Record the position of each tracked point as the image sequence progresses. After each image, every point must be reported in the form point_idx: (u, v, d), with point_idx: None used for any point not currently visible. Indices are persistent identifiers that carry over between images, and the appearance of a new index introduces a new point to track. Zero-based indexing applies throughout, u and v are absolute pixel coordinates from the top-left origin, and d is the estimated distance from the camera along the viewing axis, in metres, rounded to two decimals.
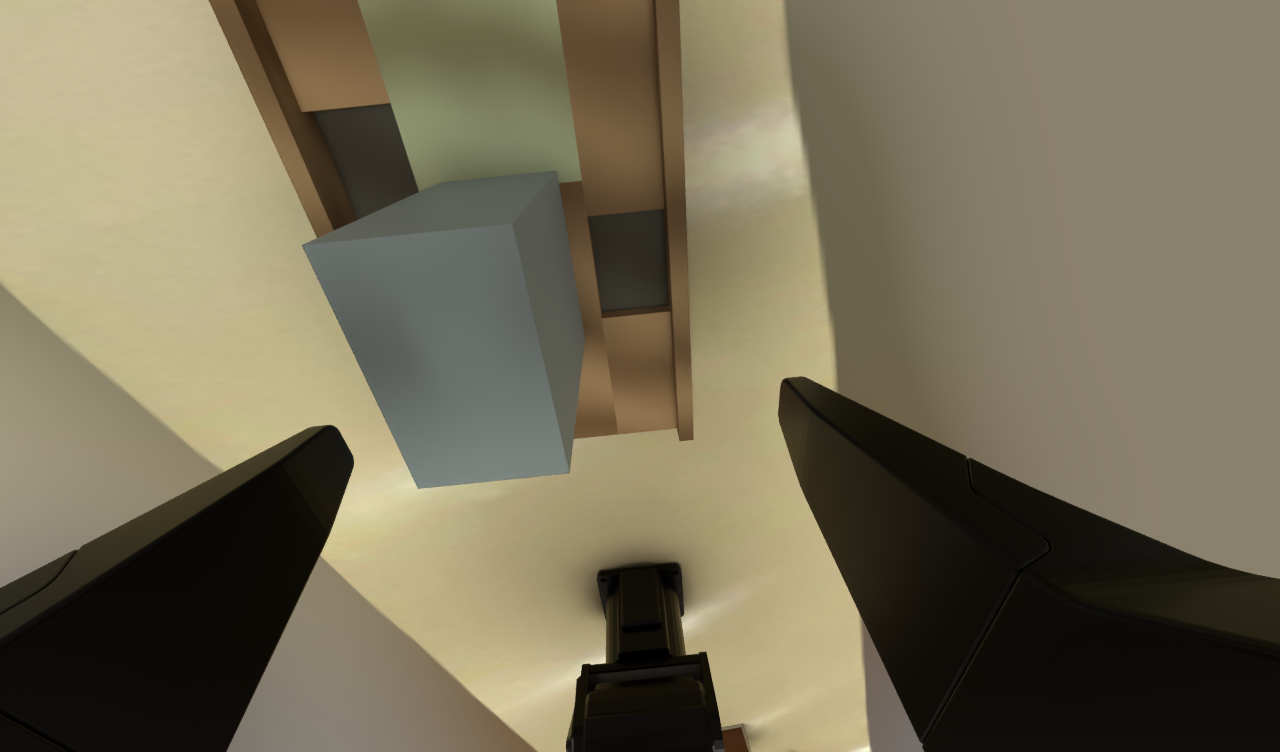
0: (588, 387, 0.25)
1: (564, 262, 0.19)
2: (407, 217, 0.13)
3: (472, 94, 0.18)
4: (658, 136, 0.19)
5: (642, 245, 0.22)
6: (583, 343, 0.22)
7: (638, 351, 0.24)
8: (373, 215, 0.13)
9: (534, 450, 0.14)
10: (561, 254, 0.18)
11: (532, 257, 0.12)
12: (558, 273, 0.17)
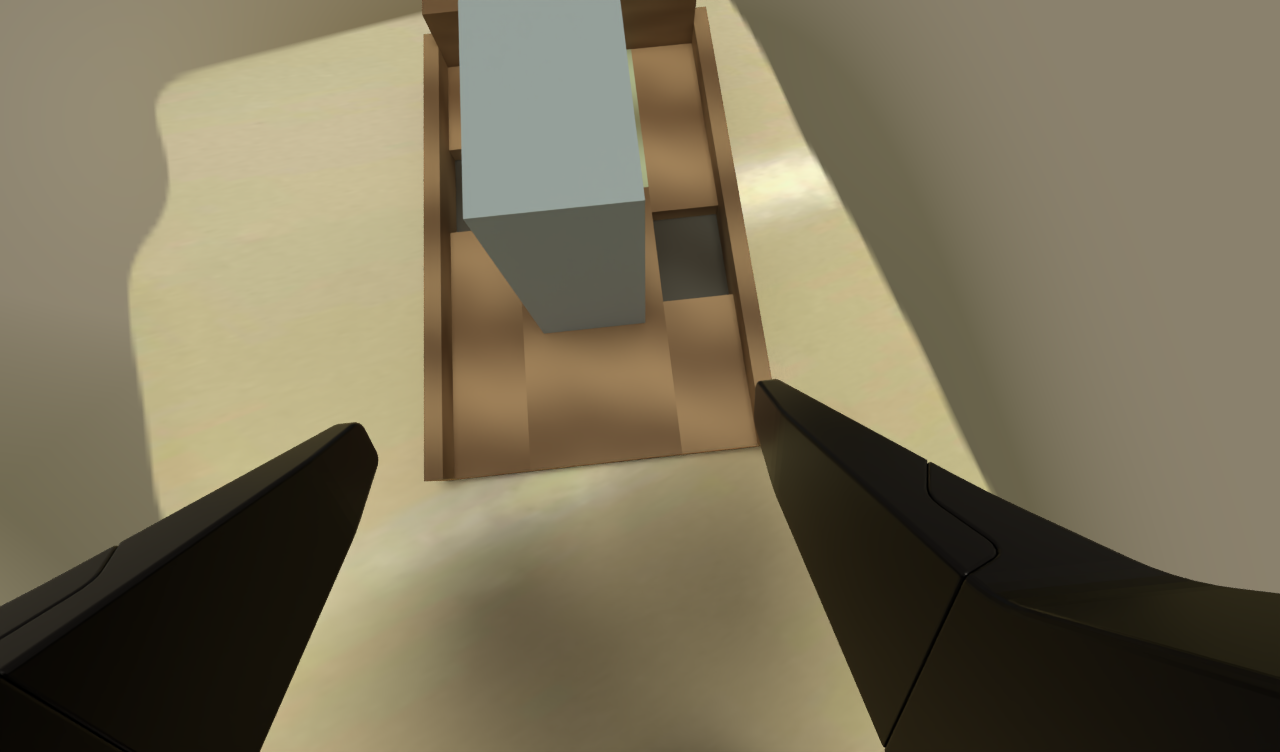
0: (646, 382, 0.21)
1: None
2: None
3: None
4: (709, 157, 0.24)
5: (700, 245, 0.24)
6: None
7: (702, 338, 0.22)
8: None
9: (607, 168, 0.13)
10: None
11: None
12: None
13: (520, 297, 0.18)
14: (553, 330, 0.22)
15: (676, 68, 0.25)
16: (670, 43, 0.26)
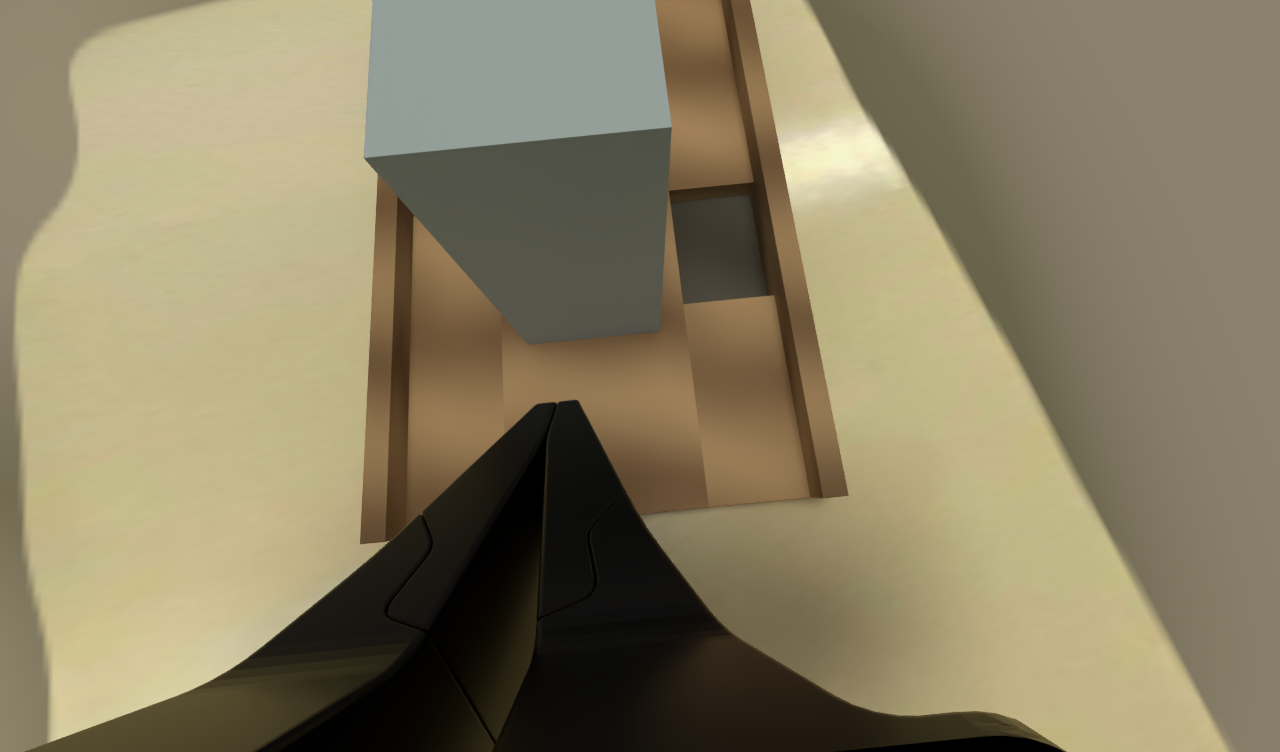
0: (662, 410, 0.16)
1: None
2: None
3: None
4: (741, 123, 0.19)
5: (730, 234, 0.19)
6: None
7: (734, 352, 0.17)
8: None
9: (609, 76, 0.08)
10: None
11: None
12: None
13: (488, 295, 0.13)
14: (540, 340, 0.17)
15: (699, 16, 0.20)
16: None
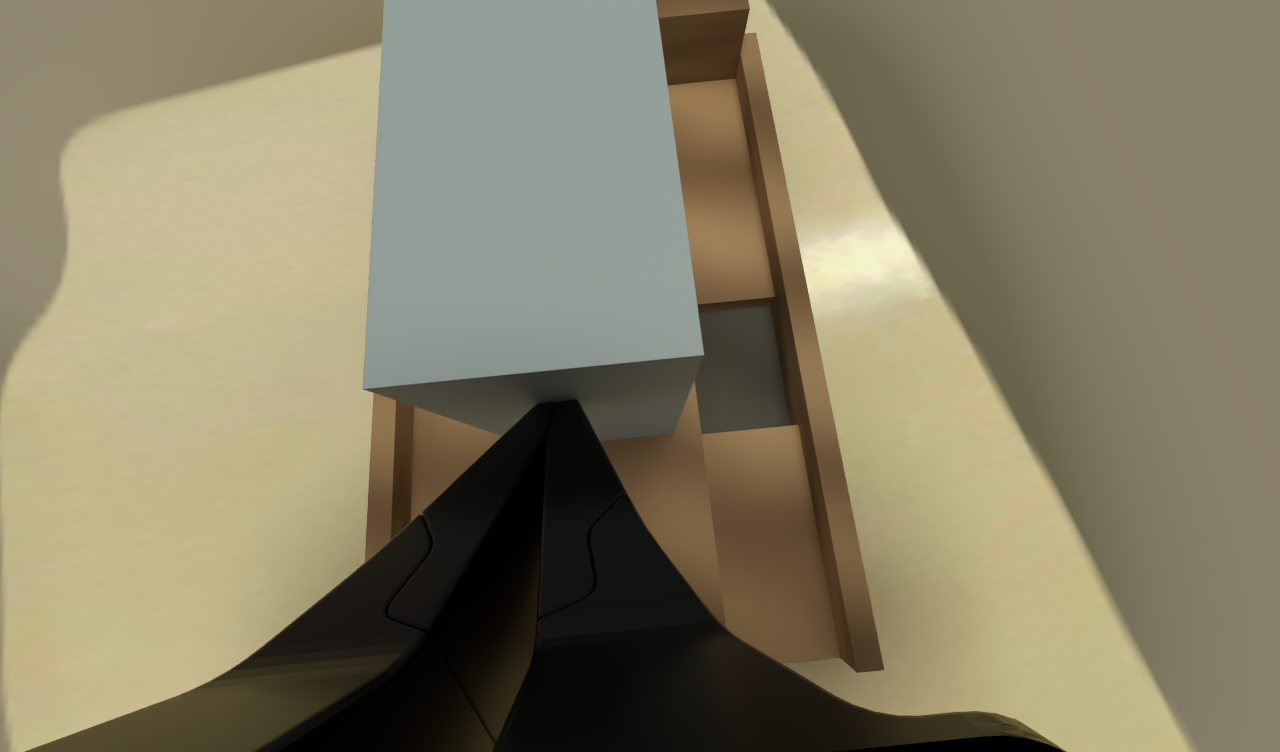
0: (679, 555, 0.15)
1: None
2: None
3: None
4: (761, 230, 0.18)
5: (749, 349, 0.18)
6: None
7: (756, 489, 0.16)
8: None
9: (634, 291, 0.07)
10: None
11: None
12: None
13: (495, 432, 0.12)
14: None
15: (716, 111, 0.20)
16: (707, 79, 0.20)
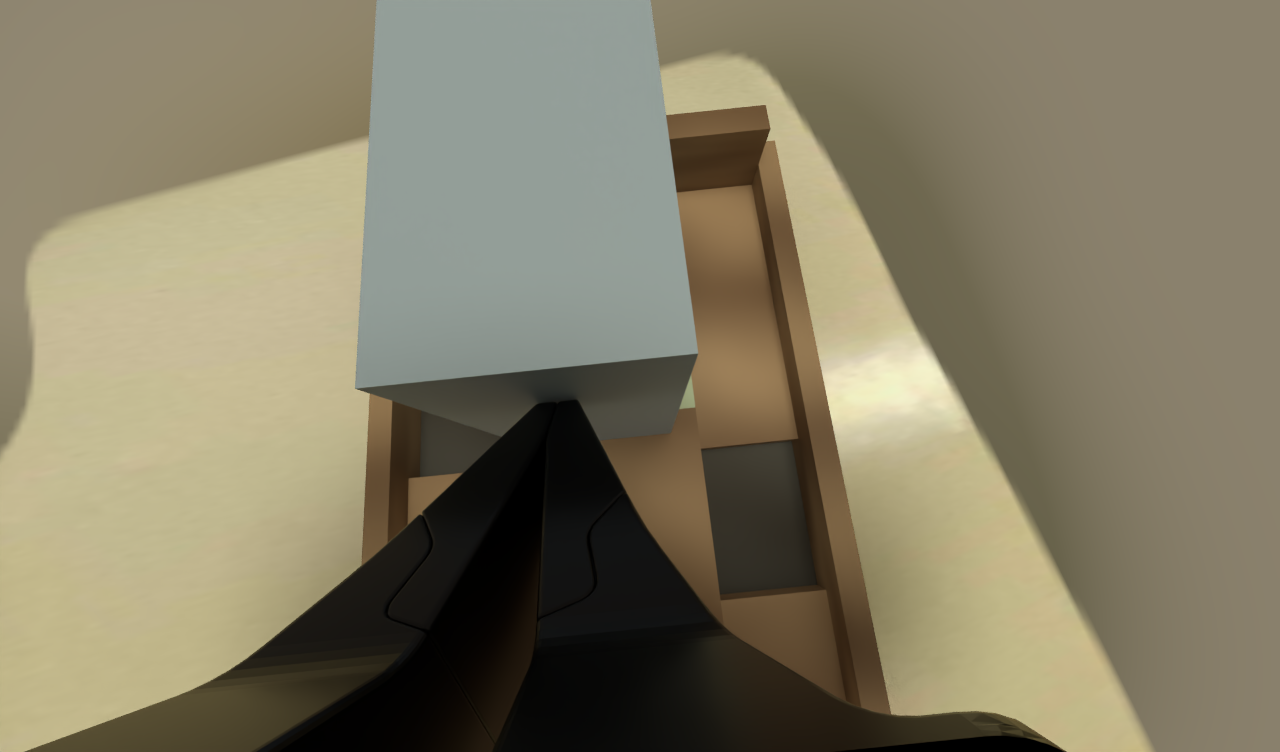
0: None
1: None
2: None
3: None
4: (782, 361, 0.17)
5: (770, 492, 0.16)
6: None
7: None
8: None
9: (627, 289, 0.07)
10: None
11: None
12: None
13: (491, 432, 0.12)
14: None
15: (731, 222, 0.18)
16: (721, 186, 0.18)
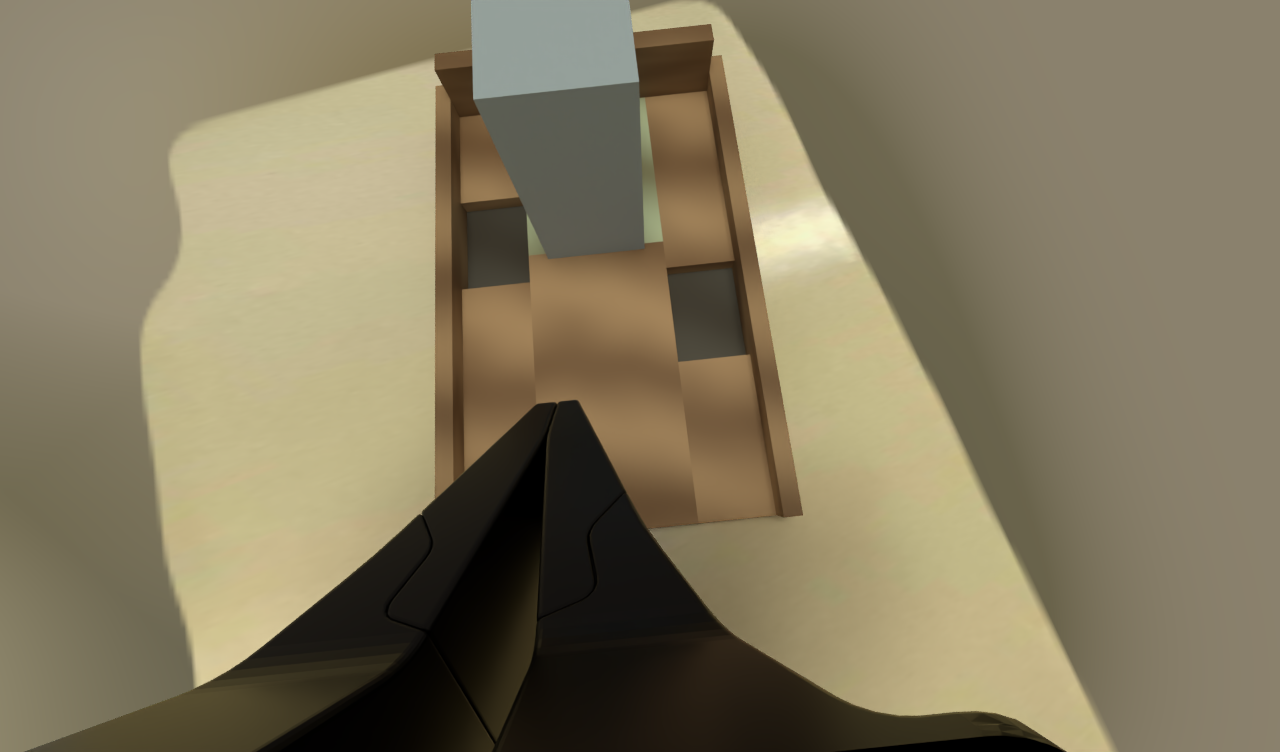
0: (661, 447, 0.21)
1: None
2: None
3: None
4: (724, 210, 0.24)
5: (715, 301, 0.23)
6: (643, 235, 0.22)
7: (718, 400, 0.21)
8: None
9: (605, 55, 0.14)
10: None
11: None
12: None
13: (525, 207, 0.19)
14: (557, 254, 0.23)
15: (691, 117, 0.25)
16: (684, 91, 0.25)
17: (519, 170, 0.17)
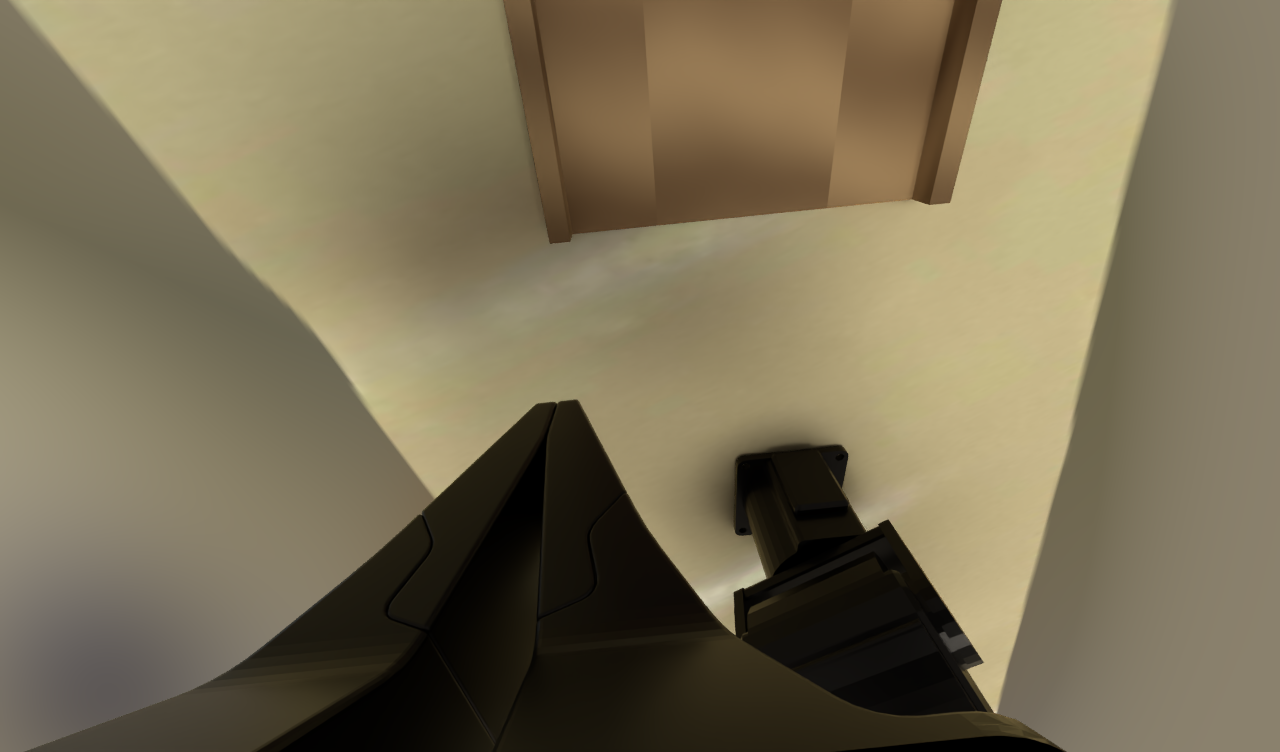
0: (805, 113, 0.17)
1: None
2: None
3: None
4: None
5: None
6: None
7: (894, 41, 0.16)
8: None
9: None
10: None
11: None
12: None
13: None
14: None
15: None
16: None
17: None
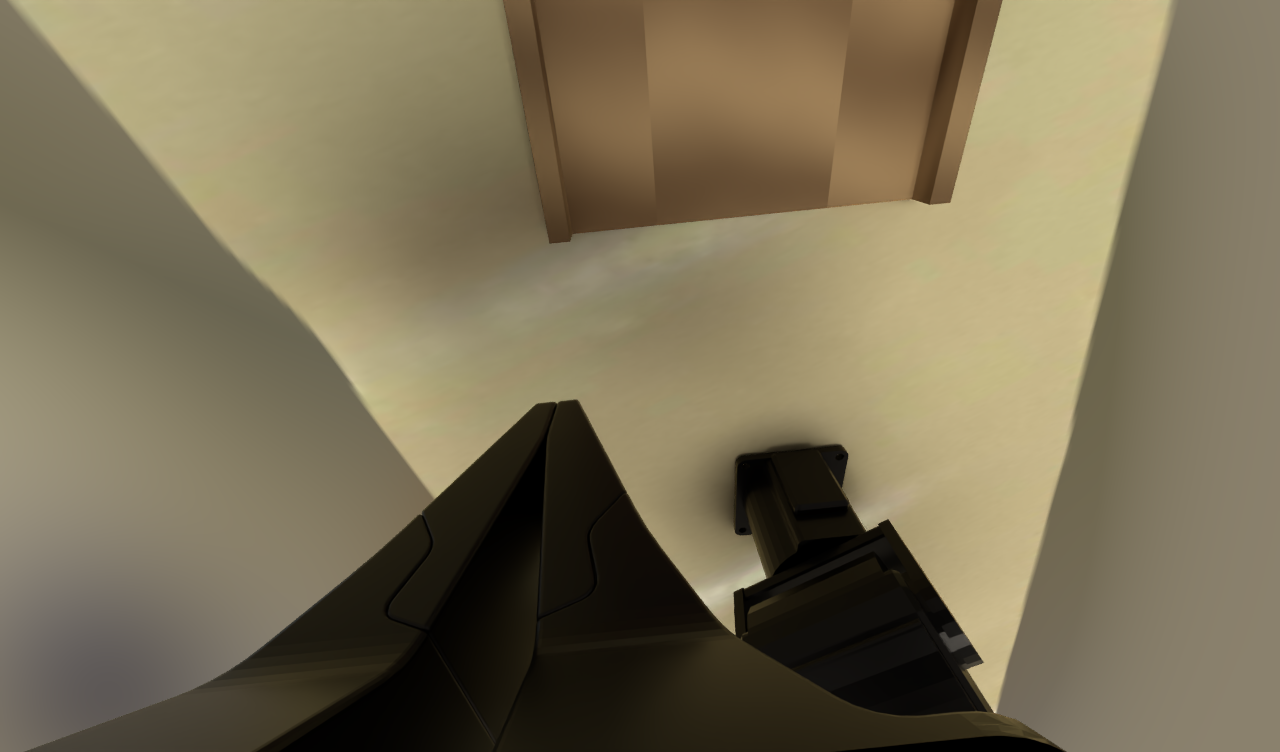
0: (805, 112, 0.17)
1: None
2: None
3: None
4: None
5: None
6: None
7: (895, 40, 0.16)
8: None
9: None
10: None
11: None
12: None
13: None
14: None
15: None
16: None
17: None
